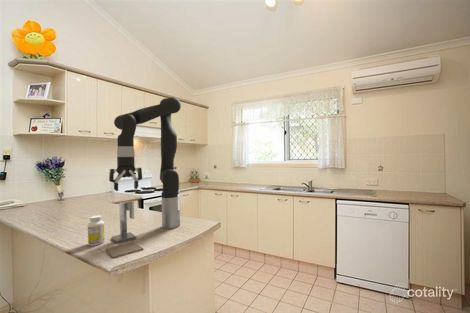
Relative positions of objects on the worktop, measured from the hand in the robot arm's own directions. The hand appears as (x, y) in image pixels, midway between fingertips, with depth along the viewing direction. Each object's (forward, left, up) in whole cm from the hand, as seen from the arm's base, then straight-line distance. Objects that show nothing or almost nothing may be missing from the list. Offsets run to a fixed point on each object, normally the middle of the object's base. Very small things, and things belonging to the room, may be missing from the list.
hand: (126, 189), depth 109 cm
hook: (0, 0, -14) cm, 14 cm away
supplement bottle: (+11, -9, -25) cm, 29 cm away
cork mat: (+4, +9, -25) cm, 27 cm away
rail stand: (0, -3, -25) cm, 25 cm away
